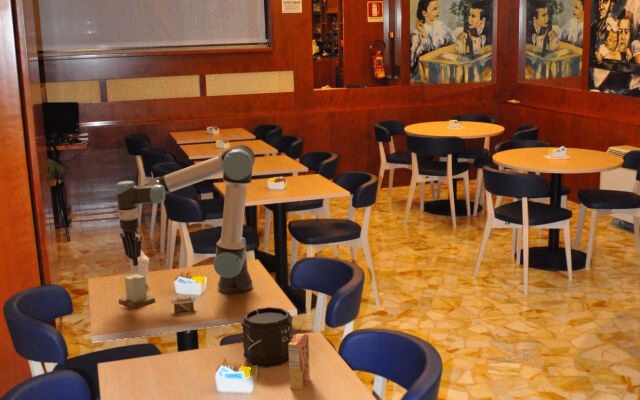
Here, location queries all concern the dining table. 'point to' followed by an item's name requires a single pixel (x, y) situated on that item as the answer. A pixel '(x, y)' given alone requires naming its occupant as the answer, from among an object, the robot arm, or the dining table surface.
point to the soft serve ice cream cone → (143, 266)
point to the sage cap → (135, 287)
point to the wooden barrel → (267, 336)
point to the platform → (183, 303)
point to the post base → (138, 303)
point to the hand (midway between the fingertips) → (135, 272)
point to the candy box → (299, 361)
